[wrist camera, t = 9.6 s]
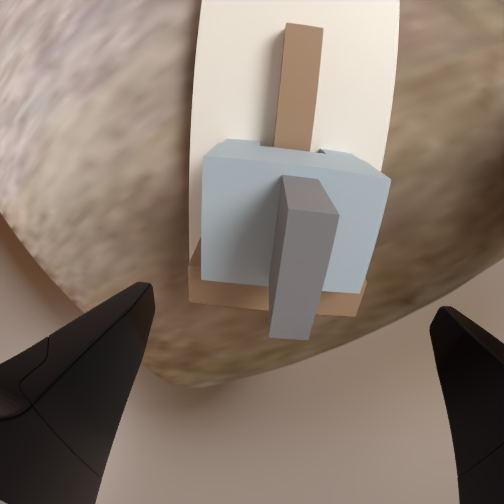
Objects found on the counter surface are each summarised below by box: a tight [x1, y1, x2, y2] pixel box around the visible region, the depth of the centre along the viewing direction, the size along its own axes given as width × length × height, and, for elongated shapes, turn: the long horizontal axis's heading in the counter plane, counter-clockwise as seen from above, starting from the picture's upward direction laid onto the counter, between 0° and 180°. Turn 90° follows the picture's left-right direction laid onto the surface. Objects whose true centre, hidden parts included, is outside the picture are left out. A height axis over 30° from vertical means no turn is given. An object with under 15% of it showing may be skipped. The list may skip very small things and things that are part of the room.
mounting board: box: [188, 0, 399, 316], centre depth 14 cm, size 12×26×6 cm, turn 175°
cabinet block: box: [201, 139, 391, 340], centre depth 14 cm, size 8×6×10 cm
